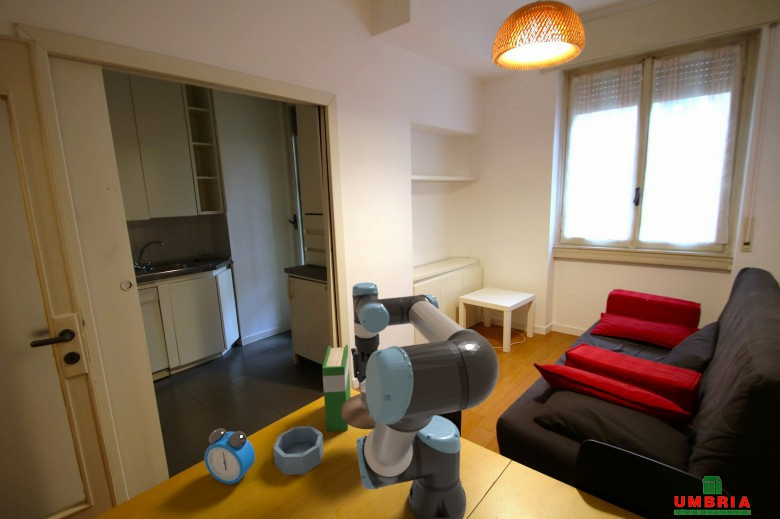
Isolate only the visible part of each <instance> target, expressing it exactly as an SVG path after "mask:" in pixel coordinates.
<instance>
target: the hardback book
mask: <svg viewBox="0 0 780 519" xmlns="http://www.w3.org/2000/svg"><path fill="white" fill-rule="evenodd" d="M349 358H350V357H349V344H345V346H344V347H332V345H328V346H327V349H326V354H325V356H324V361H323V364H322V368H321V372H322V382H323V384H322V385H323V398H324V401H323V402H324V414H325V415H324V416H325V430H326V432H334V431H336V432H337V431H348V430H349V425H348V424H347V423H346V422H345V421H344V420H343V418H342V411H341V410H342V406H343V404H344V403H345V402H346V401H347V400H348V399H349V398H351V397H352V396H351V381H350V380H351V377H350V362H349V361H350V359H349Z"/></svg>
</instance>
